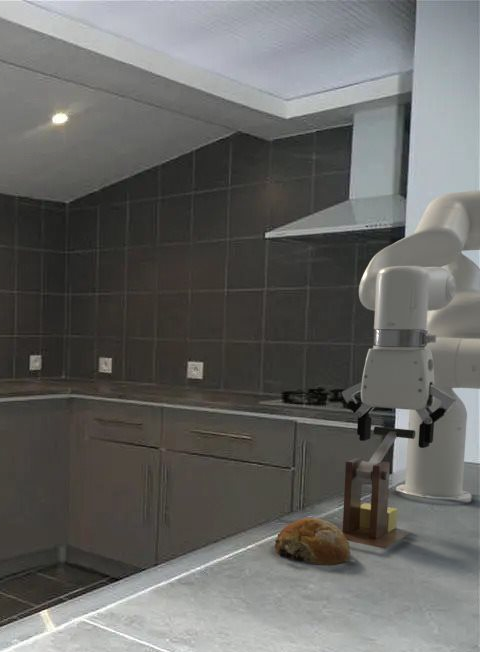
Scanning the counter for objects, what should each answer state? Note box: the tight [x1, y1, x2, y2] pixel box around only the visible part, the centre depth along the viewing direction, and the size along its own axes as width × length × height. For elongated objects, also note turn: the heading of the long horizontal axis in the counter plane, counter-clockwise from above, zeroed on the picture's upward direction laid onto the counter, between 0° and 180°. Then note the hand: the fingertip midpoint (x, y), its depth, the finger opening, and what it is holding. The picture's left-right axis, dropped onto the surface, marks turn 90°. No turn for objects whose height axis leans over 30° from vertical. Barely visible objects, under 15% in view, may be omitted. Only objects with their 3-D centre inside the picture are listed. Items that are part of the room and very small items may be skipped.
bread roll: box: [274, 517, 352, 566], centre depth 105 cm, size 10×10×8 cm
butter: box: [359, 502, 399, 532], centre depth 118 cm, size 4×5×3 cm
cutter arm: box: [356, 425, 416, 486], centre depth 117 cm, size 15×6×2 cm, turn 131°
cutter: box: [334, 457, 412, 550], centre depth 115 cm, size 12×10×13 cm
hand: (393, 443), depth 121 cm, fingers open, 8 cm apart
